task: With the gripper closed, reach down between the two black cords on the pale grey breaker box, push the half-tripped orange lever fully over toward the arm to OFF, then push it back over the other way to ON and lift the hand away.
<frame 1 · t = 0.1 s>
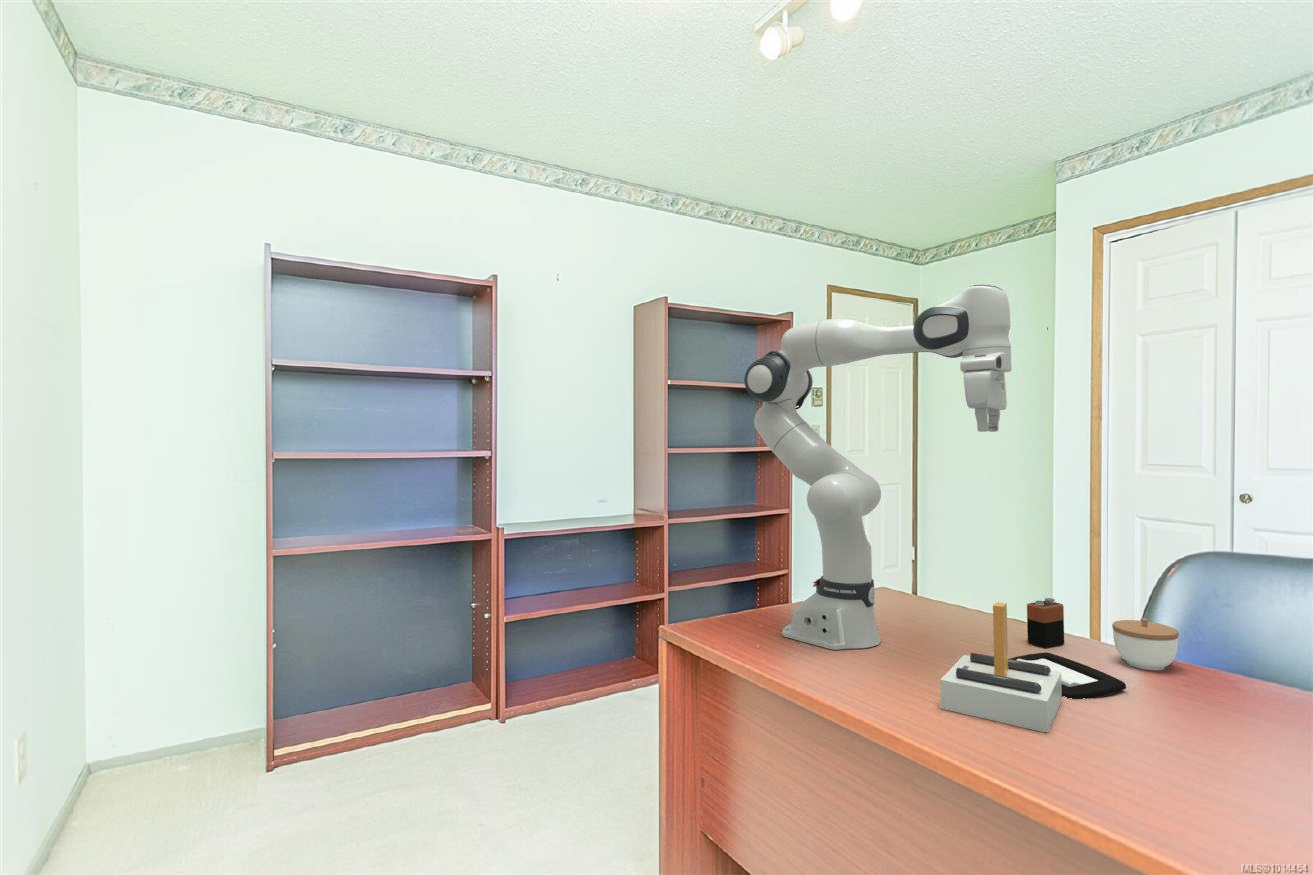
hand: (988, 431, 133), 48 cm above the table, tool pointing down, fingers open, 8 cm apart
black picture frame: (1058, 681, 125), on the table
breaker box: (1002, 704, 113), on the table
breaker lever: (1000, 638, 114), point 12 cm above the table, hinge at 0.0°
lidded jar: (1145, 666, 131), on the table
battery: (1045, 645, 146), on the table
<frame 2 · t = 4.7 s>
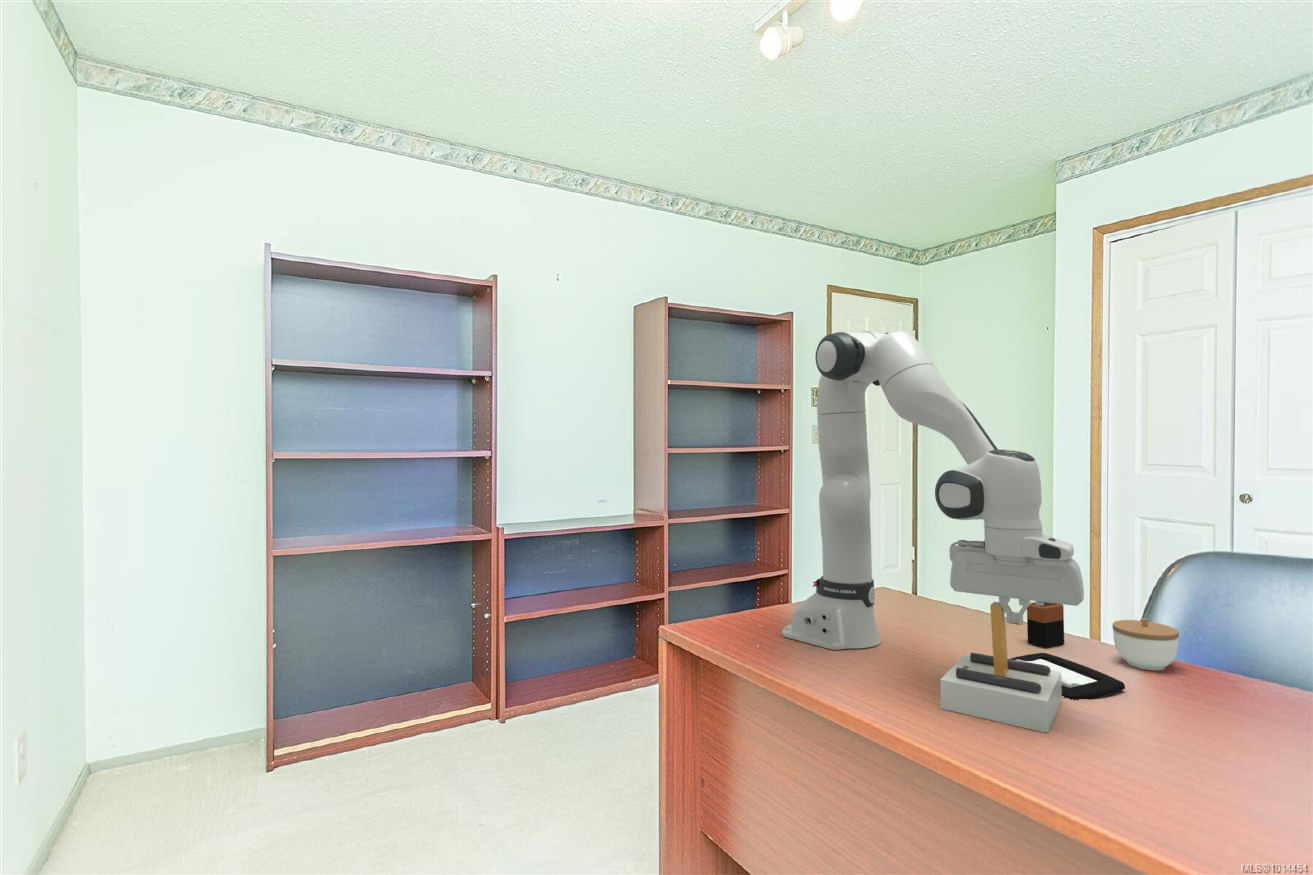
hand: (1014, 623, 112), 14 cm above the table, tool pointing down, fingers closed
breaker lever: (999, 638, 114), point 11 cm above the table, hinge at -2.1°, touching gripper
everything else where it was.
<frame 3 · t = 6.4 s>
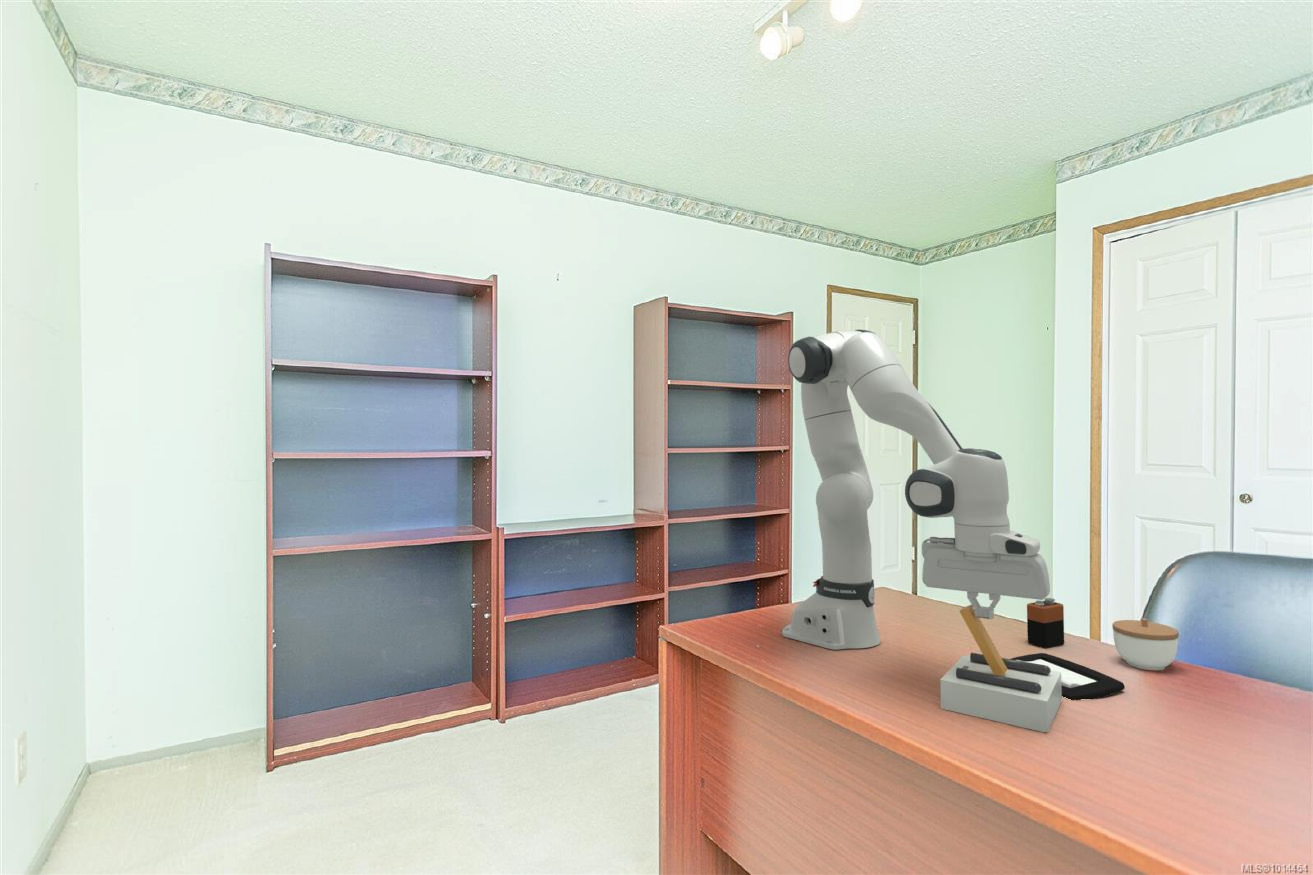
hand: (984, 617, 115), 15 cm above the table, tool pointing down, fingers closed
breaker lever: (983, 639, 115), point 11 cm above the table, hinge at -27.8°, touching gripper
everything else where it was.
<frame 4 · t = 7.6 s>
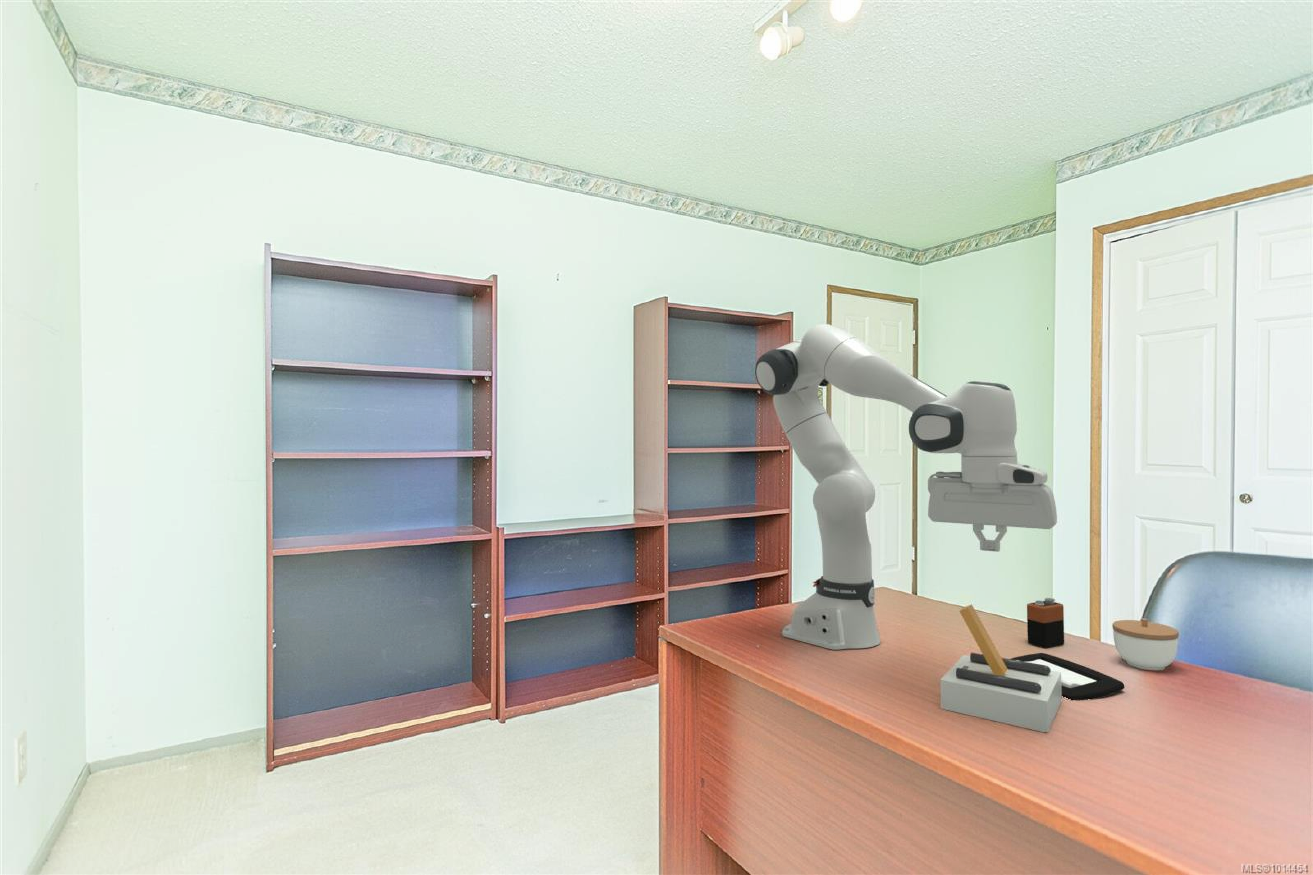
hand: (990, 550, 115), 27 cm above the table, tool pointing down, fingers closed
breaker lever: (983, 639, 115), point 11 cm above the table, hinge at -27.8°
everything else where it was.
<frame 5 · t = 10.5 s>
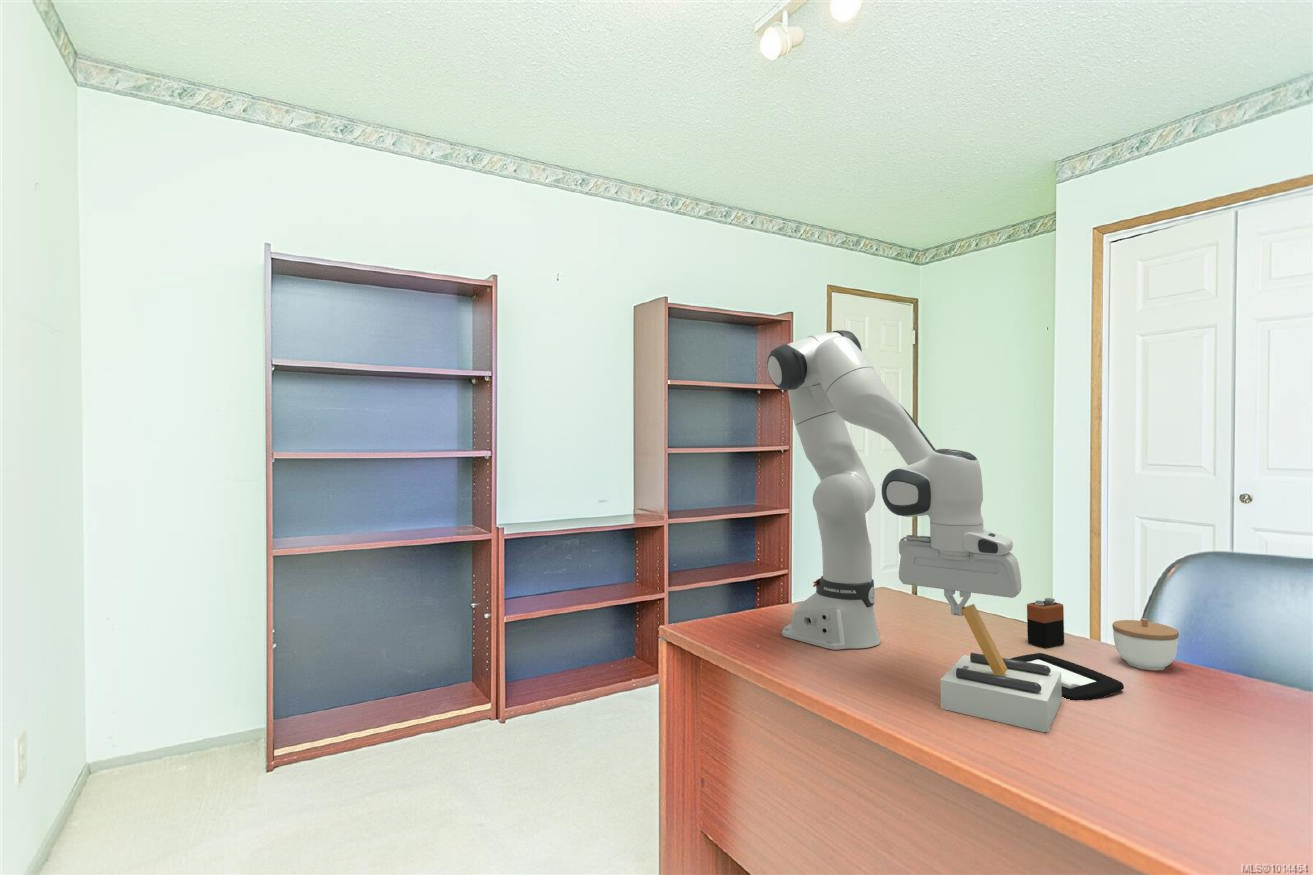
hand: (957, 614, 118), 15 cm above the table, tool pointing down, fingers closed
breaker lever: (984, 639, 115), point 11 cm above the table, hinge at -25.9°, touching gripper
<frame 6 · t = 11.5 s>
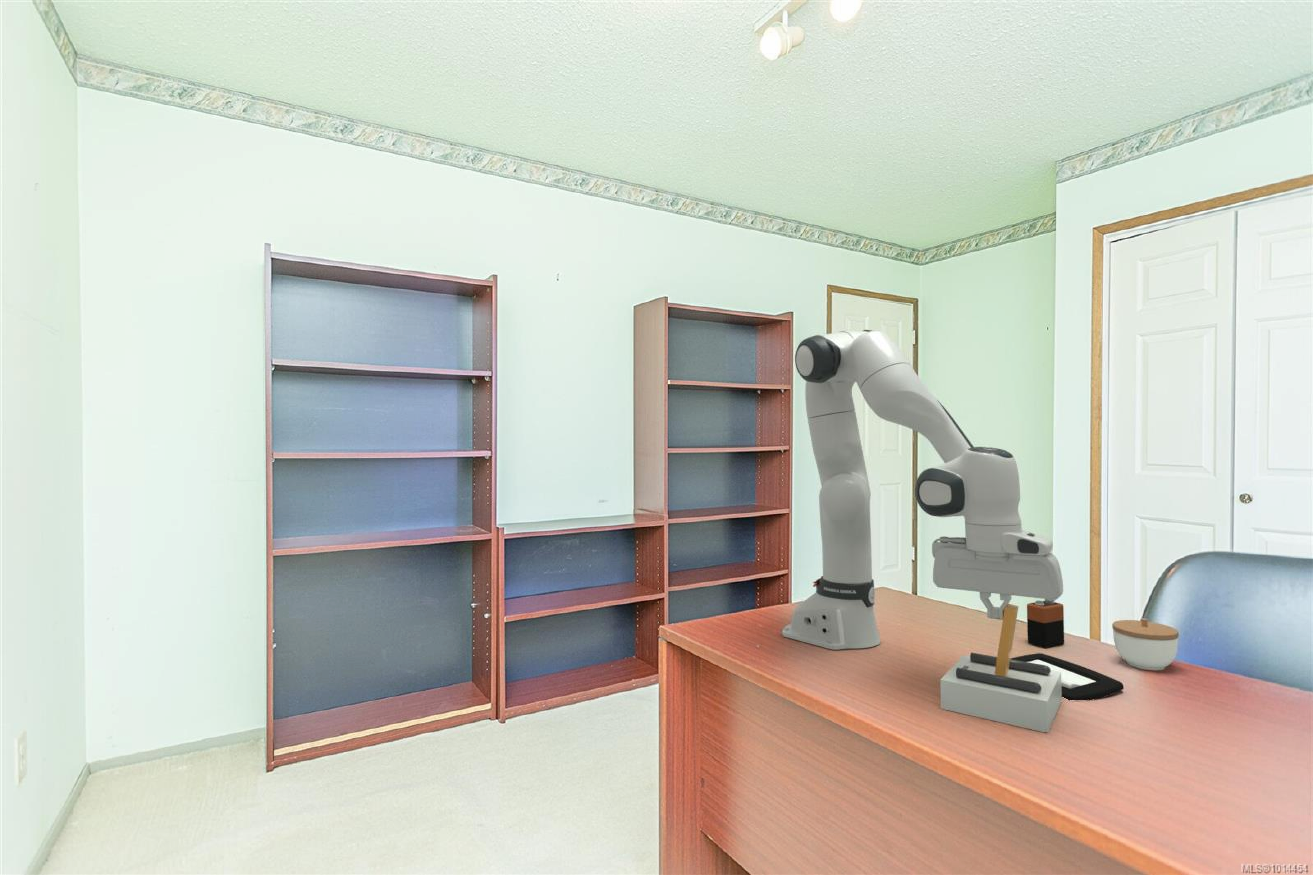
hand: (996, 618, 114), 15 cm above the table, tool pointing down, fingers closed
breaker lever: (1006, 640, 113), point 11 cm above the table, hinge at 8.9°, touching gripper
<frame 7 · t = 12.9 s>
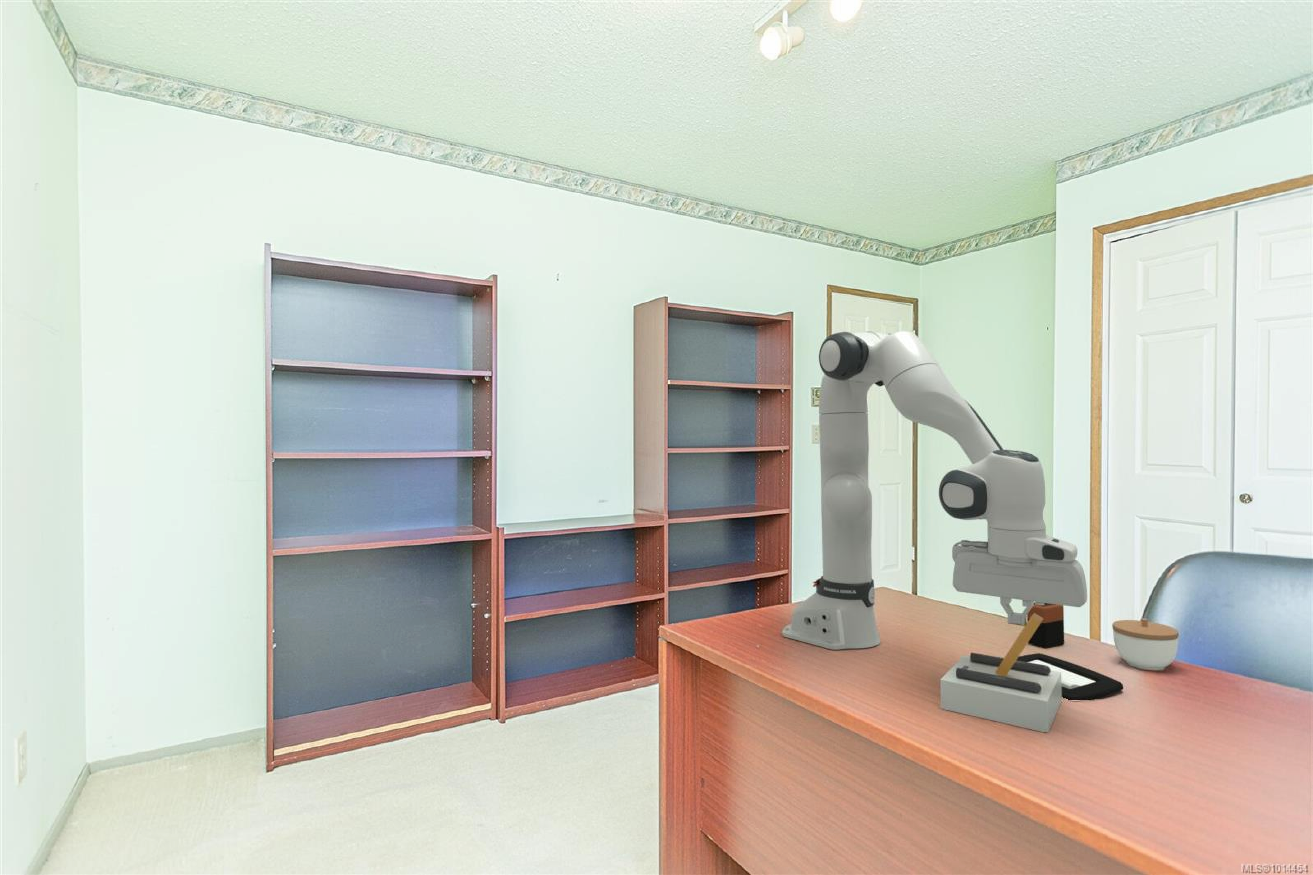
hand: (1017, 624, 112), 14 cm above the table, tool pointing down, fingers closed
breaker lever: (1019, 645, 112), point 11 cm above the table, hinge at 28.4°, touching gripper
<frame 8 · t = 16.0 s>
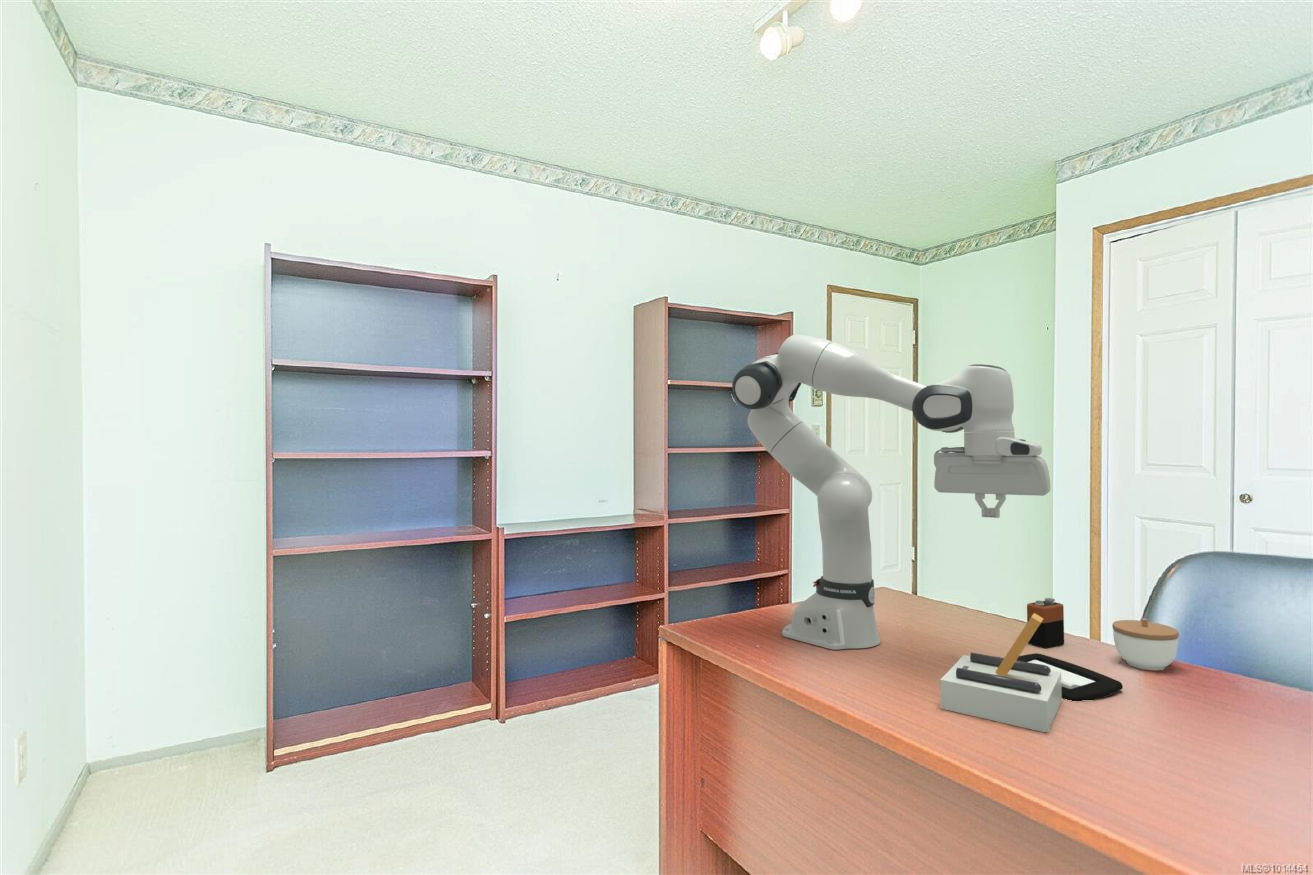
hand: (990, 517, 127), 31 cm above the table, tool pointing down, fingers closed
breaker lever: (1019, 645, 112), point 11 cm above the table, hinge at 28.5°
at the end: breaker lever at +28° (first picture: +0°) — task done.
